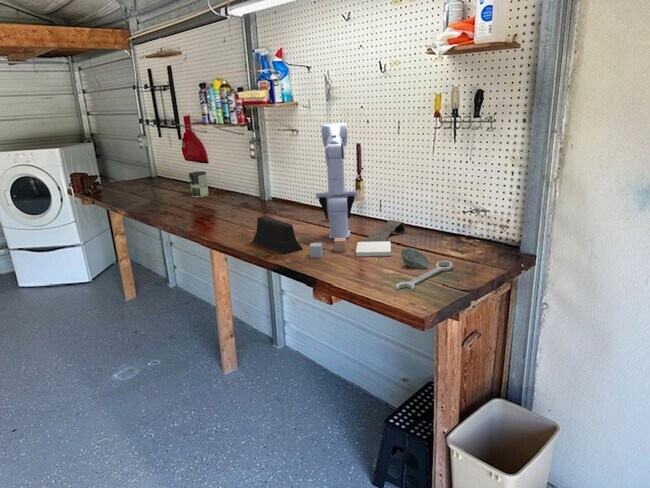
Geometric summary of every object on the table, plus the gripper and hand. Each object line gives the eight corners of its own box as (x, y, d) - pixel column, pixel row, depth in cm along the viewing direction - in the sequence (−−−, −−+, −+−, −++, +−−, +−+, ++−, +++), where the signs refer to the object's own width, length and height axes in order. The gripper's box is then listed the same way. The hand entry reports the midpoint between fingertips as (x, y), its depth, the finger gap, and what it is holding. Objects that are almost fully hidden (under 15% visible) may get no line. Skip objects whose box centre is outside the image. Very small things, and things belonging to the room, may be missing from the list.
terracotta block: (335, 248, 174) (335, 237, 173) (346, 248, 173) (346, 237, 172) (334, 251, 170) (333, 241, 169) (345, 251, 169) (345, 240, 168)
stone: (432, 261, 157) (404, 251, 160) (436, 251, 156) (407, 241, 158) (426, 275, 149) (396, 264, 151) (429, 265, 147) (399, 253, 149)
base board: (357, 245, 175) (357, 242, 174) (390, 245, 173) (390, 241, 173) (355, 256, 163) (355, 252, 163) (390, 255, 162) (390, 251, 161)
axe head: (379, 241, 173) (357, 237, 179) (380, 254, 175) (359, 249, 181) (410, 220, 186) (389, 217, 192) (411, 232, 188) (390, 228, 194)
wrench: (407, 294, 131) (407, 288, 130) (391, 290, 135) (391, 283, 134) (456, 268, 148) (456, 262, 147) (441, 265, 152) (441, 259, 151)
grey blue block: (311, 253, 169) (311, 243, 168) (322, 253, 169) (322, 242, 167) (310, 257, 165) (309, 246, 164) (321, 257, 165) (320, 246, 164)
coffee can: (192, 198, 284) (188, 174, 280) (191, 195, 293) (188, 172, 289) (209, 196, 287) (206, 173, 283) (208, 193, 296) (205, 170, 292)
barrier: (303, 250, 174) (301, 224, 171) (283, 255, 169) (281, 228, 166) (270, 237, 193) (268, 214, 190) (251, 242, 188) (249, 218, 185)
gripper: (313, 180, 160) (315, 220, 162) (356, 178, 158) (358, 219, 160) (316, 180, 167) (318, 218, 169) (357, 178, 165) (359, 216, 167)
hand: (337, 218), depth 165 cm, fingers open, 7 cm apart
